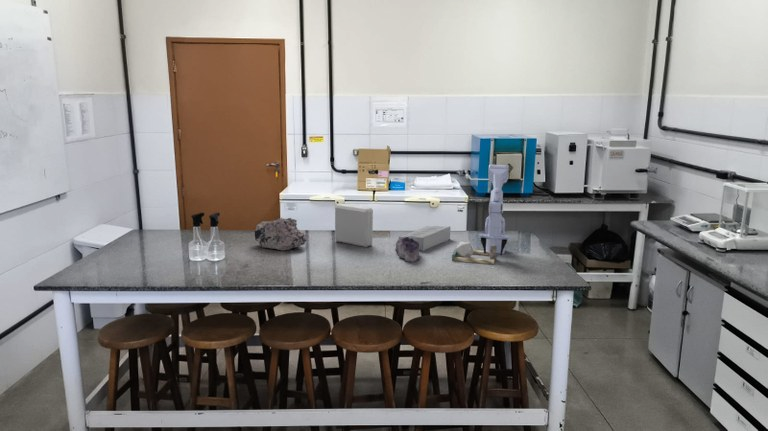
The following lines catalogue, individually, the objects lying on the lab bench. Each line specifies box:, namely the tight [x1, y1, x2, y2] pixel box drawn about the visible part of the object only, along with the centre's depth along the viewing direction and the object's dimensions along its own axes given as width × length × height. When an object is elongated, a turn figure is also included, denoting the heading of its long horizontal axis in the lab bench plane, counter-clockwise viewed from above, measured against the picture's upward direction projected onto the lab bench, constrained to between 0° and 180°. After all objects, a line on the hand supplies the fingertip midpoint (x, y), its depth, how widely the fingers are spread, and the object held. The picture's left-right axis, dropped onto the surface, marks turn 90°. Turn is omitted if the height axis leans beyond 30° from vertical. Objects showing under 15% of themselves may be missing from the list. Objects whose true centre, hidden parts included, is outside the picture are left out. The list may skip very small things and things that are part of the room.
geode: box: [394, 237, 420, 263], centre depth 272 cm, size 20×12×10 cm, turn 10°
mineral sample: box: [254, 217, 307, 251], centre depth 286 cm, size 27×19×15 cm
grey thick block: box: [334, 203, 374, 248], centre depth 293 cm, size 21×8×20 cm, turn 58°
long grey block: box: [398, 225, 451, 252], centre depth 298 cm, size 30×14×8 cm, turn 147°
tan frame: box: [451, 245, 497, 265], centre depth 272 cm, size 20×16×7 cm
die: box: [454, 241, 474, 258], centre depth 271 cm, size 8×9×10 cm
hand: (493, 253), depth 270 cm, fingers open, 7 cm apart
